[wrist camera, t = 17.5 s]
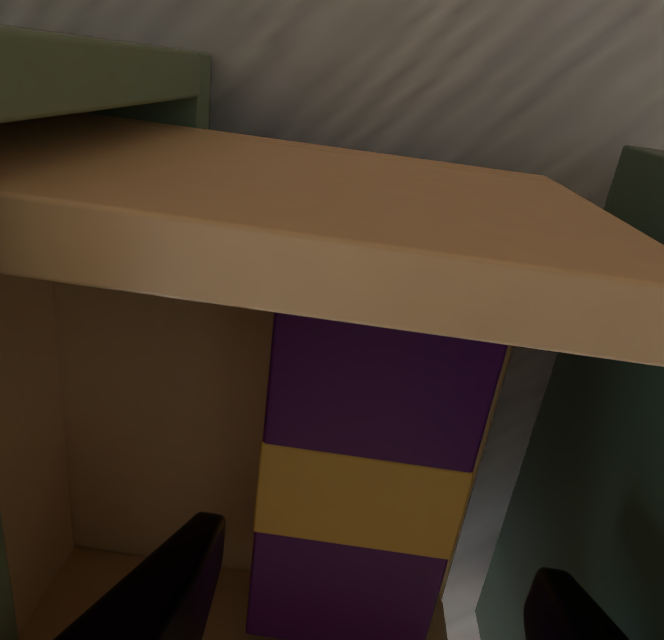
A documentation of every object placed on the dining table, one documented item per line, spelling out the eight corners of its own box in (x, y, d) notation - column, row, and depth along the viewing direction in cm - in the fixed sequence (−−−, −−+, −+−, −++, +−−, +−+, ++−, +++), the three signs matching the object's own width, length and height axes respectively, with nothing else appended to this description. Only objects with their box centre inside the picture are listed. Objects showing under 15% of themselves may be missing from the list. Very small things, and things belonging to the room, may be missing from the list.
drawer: (944, 188, 11) (1763, 354, 4) (692, 641, 16) (906, 1021, 9) (28, 63, 11) (-448, 50, 5) (68, 551, 16) (-131, 864, 9)
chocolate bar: (293, 245, 11) (272, 291, 8) (487, 272, 11) (517, 325, 8) (263, 544, 14) (242, 636, 11) (414, 565, 14) (422, 662, 11)
